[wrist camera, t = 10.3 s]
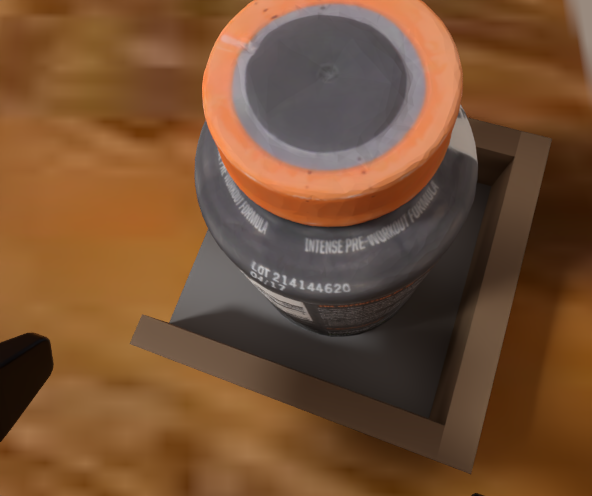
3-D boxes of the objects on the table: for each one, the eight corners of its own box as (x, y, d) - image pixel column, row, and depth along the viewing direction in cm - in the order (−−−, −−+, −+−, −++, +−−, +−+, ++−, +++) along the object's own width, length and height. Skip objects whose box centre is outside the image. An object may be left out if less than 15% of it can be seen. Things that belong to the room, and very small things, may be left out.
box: (447, 456, 16) (470, 474, 13) (163, 349, 18) (129, 343, 15) (518, 175, 18) (552, 138, 16) (263, 107, 20) (250, 63, 17)
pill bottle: (413, 187, 18) (522, -97, 7) (419, 340, 17) (571, 269, 6) (262, 188, 19) (157, -73, 8) (255, 336, 17) (109, 266, 6)
